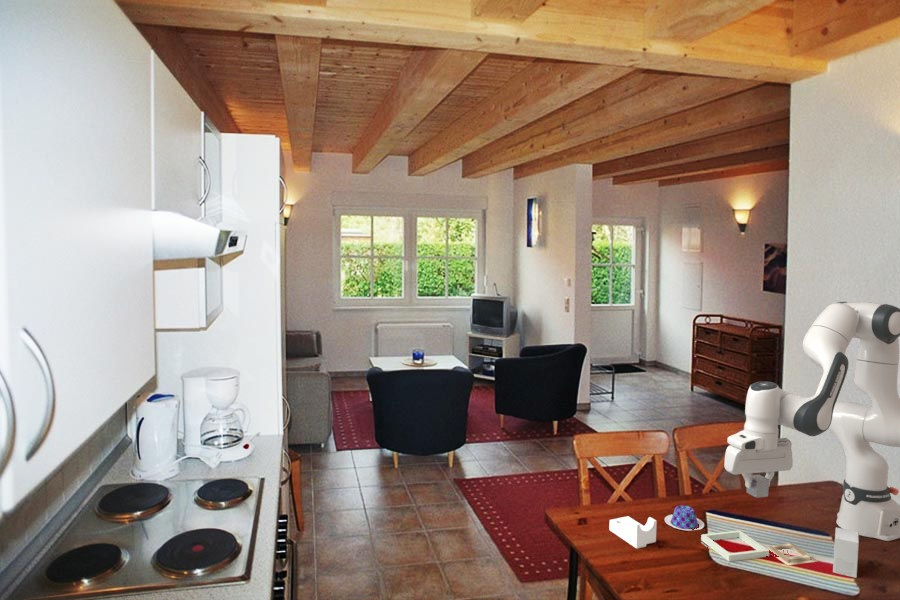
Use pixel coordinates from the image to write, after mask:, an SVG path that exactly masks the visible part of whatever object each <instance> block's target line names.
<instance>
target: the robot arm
mask: <svg viewBox="0 0 900 600" xmlns="http://www.w3.org/2000/svg"><path fill="white" fill-rule="evenodd" d="M899 337H900V308H899V307H897V306H894V305H891V304H888V303H877V302H870V301H869V302H868V301H862V302H861V301H854V302H851V301H850V302H848V301H838V302H834V303H831V304H828V306H827V307H825V308H824V309H823V310H822V311H821V313H819V315H818V316H817V317H816V318H815V320H814V321H813V322H812V324H811V325H810V327H809V328H808V331H806V333H805V335H804V337H803V340H802V349H803V352H804V355H805V356H806V357H807V359H809V360H810V361H811V362H812V363H813V364H815V365H816V366H817V367H819V368H820V369H821V370H822V371H823V372H822V376H821V379H820V381H819V382H818V385H817V389H816V391H815V394H813V395H811V396H810V397H808V396H807V397H806V396H803V395H798V394H795V393H793V392H789V391H785V390H784V389H782V388H780V386H779V385H778V384H777V383H776V382H772V381H767V380H766V381H756V382H754V383H752V384H750V385H749V388H748V390H747V393H746V398H745V405H744V406H745V407H744V408H745V409H744V415H745V422H744V425H743V429H742V430H740V431H738V432H737V433H735V434H731V435H730V436H728V437H727V441H726V442H727V443H728V444H729V445H728V446H727V447H726V450H725V454H724V464H723V466H724V469H725V471H726V472H727V473H730V474H732V475H735V476H736V475H742V477H743V479H744V482H745V483H744V486H745V488H746V489H747V488H753V487H754V486H753V485H754V482H753V481H751V480H750V477H751V475H752V474H758V473H759V474H760V473H765V476H764V477H765V478H767V479H769V487H770V486H771V482H772V479H773V478H774V477H775V472H783V471H785V472H787V471H790V470H791V469H792V468H793V465H794V464H793V463H794V462H793V459H794V458H793V450H792V441H791V440H790V439H788V438H787V437H782V438H781V437H779V426H783V427H784V428H789V429H791V430H795V431H797V432H799V433H802V434H804V435H806V436H809V437H816V436H819V435H822V434H823V433H825V432H826V431H827V430H828V431H829V432H831V433H832V434H833V435H834V437H835V438H836V439H837V440H838V441H839V444H840V446H841V447H842V449H843V453H844V459H845V479H844V480H843V483H842V492H843V494H842V496H841V502H840V506H839V511H838V512H837V514H836V517H837V518H836V524H837V525H838V527H839V528H842V529H847V530H851V531H856V532H859V536H862V537H865V538H866V537H867V538H874V539H878V540H882V541H886V542H890V541H893V540H897V539H900V504H899V503H897V502H896V500H894V499H893V498H892V496H891V494H892V495H894V496H897V495H898V494H899V489H898V488H896V487H895V488H894V487H893V486H889V487H888V477H889V476H888V475H889V464H888V462H887V460H886V459H885V458H884V456H883V455H881V454H879V452H877V451H876V450H874V448H873V447H872V445H871V443H874V444H878V445H883V446H887V447H892V448H895V447H896V448H900V396H899V392H898V372H899V365H900V364H899V363H900V341H899ZM853 338H854V339H859V343H858V346H857V350H856V351H857V352H856V358H855V365H854V366H855V367H854V374H853V375H854V376H853V382H854V384H855V387H857V389H858V390H859V391H861V392H862V393H864V394H865V395H867V396H868V397H869V399H870V401H871V405H868V404H864V403H858V402H851V401H838V398H839V395H840V392H841V391H842V387H843V384H844V383H845V379H846V377H847V373H848V370H849V358H848V357H847V356H846V351H847V349H848V347H849V345H850V344H851V342H852V339H853Z"/></svg>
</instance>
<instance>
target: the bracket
mask: <svg viewBox="0 0 900 600" xmlns="http://www.w3.org/2000/svg"><path fill="white" fill-rule="evenodd" d="M657 524H658V522H657V520H656V519H654V518H653V517H651V516H649V517H648V518H647V521H646V523H645V525H643V524H642V523H640V522H638V521H637V520H635V519H634V518H632V517H630V516H628V515H627V516H623V517H618V518H613V519H609V526H608V528H609V529H608V530H609V531H610V532H611V533H613V534H615V535H616V537H619V538H620V539H622V540H623V541H625V542H626V543H628V544H629V545H630V546H632V547H634V548H635V549H637V550H638V549H641V548H645V547H647V545H649V544H653V543H656V542H657Z"/></svg>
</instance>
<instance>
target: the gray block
mask: <svg viewBox="0 0 900 600" xmlns="http://www.w3.org/2000/svg"><path fill="white" fill-rule="evenodd" d="M750 480H751V481H753V482H754V485H753V486H754V487H753V488H747V487H746V492H745V493H747V494H749V495H750V496H752V497H754V498H755V499H757V498H766V497H769V489H770V486H769V479H767V478H765V476H763V475H761V474H751V477H750Z"/></svg>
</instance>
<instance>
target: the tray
mask: <svg viewBox="0 0 900 600" xmlns="http://www.w3.org/2000/svg"><path fill="white" fill-rule="evenodd" d="M700 536H701V537H700V541H701V542H700V543H701V544H702V545H703V546H705V547H706V548H707V547H708V549H709V548H710V549H712V550H713V551H714V552H715V553H717V554H718V555H719V556H721V557H722V558H723V559H724V560H726V561H727V562H728V563H727V564H728V565H730V564H731V563H730V562H736V561H744V560H752V559H760V558H767V557H766V556H768V557H770V553H769V550H768V549H766V548H767V547H765V546H763V545H762V544H761V543H760V542H758V541H756V540H755V539H753V538H752V537H750V536H749V535H747V534H746V533H744V532H743V531H741V530H740V529H738V530H737V529H736V530H730V531H721V532H720V531H719V532H712V533H711V532H710V533H705V534H704V533H703V534H701V535H700ZM737 537H739V538H737ZM728 538H731V539H740V540H741V539H742V540H741V541H743V542H744V541H745V542H744V543H746V544H747V545H748V544H749V545H748V546H750V547H752V549H754V550H748V551H746V550H745V551H738V552H731V553H730V552H729V551H728V550H726V549H725V548H724V547H722V546H721V545H719V544H718V543H717V542H716V541H720V539H722V540H728ZM713 540H714V541H713ZM724 560H723V561H724Z"/></svg>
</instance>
